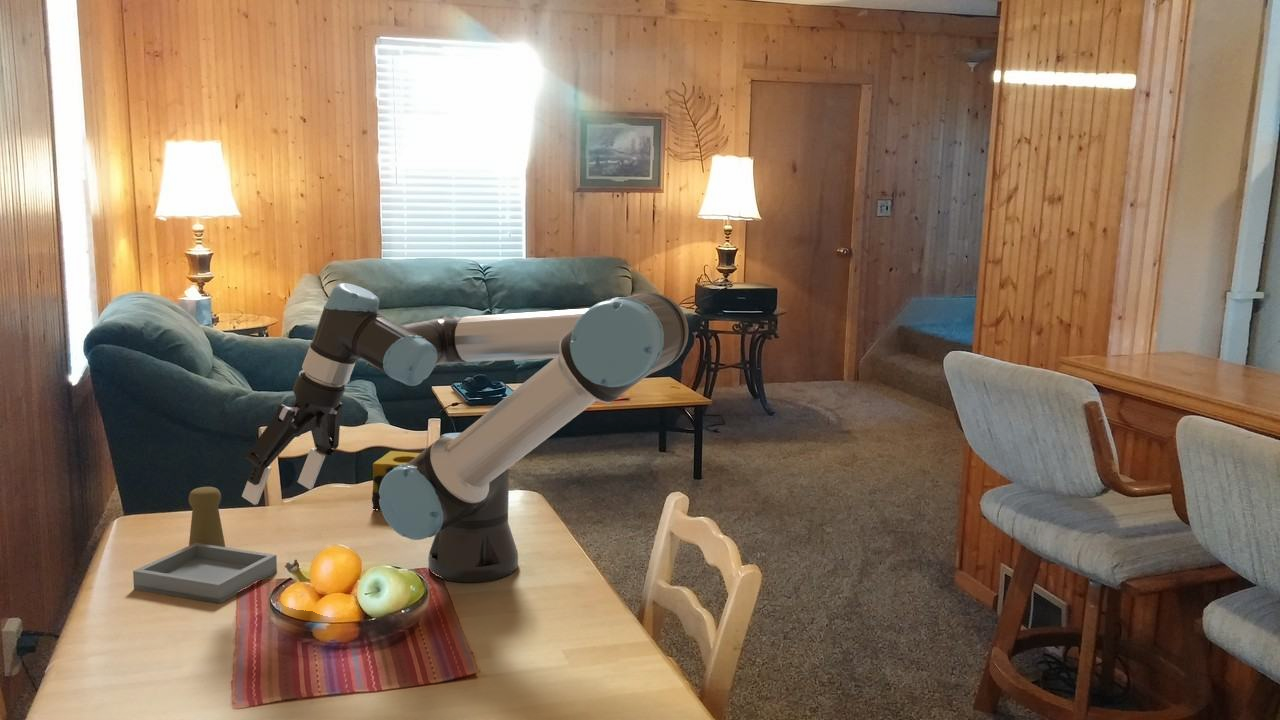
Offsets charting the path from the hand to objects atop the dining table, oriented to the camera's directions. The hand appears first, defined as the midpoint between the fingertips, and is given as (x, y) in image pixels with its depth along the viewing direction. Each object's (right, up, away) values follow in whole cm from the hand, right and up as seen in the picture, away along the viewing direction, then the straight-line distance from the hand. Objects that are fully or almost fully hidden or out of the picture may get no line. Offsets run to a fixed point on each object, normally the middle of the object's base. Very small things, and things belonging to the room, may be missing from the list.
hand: (278, 492), depth 165 cm
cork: (-17, -12, +12) cm, 24 cm away
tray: (-11, -14, -2) cm, 18 cm away
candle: (+11, -8, +40) cm, 43 cm away
